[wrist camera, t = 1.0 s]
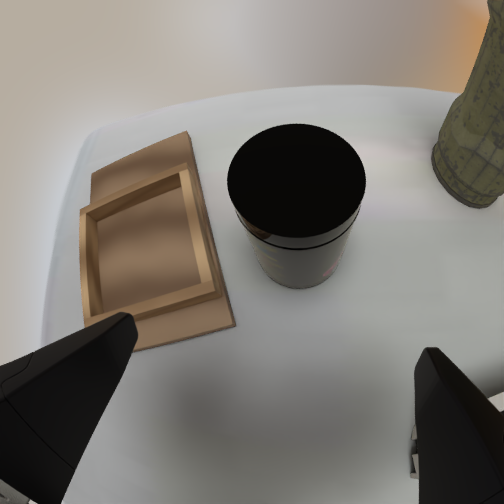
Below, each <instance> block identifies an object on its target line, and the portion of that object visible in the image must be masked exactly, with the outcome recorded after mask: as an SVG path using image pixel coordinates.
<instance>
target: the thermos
mask: <svg viewBox="0 0 504 504" xmlns="http://www.w3.org/2000/svg"><path fill="white" fill-rule="evenodd" d="M487 3H488V8H489V14H490V19H489V23H488V26H487V29H486V33H485V36H484V39H483V42H482V45H481V48H480V51H479V54H478V57H477V59H476V62H475V65H474V67H473V70H472V73H471V75H470V78H469V80H468V83H467V85H466V88H465V90H464V92H463V93H462V94H461V95H460V96H459V97H457V98H456V99H455V101H454V102H453V103H452V105H451V107H450V110H449V112H448V114H447V116H446V119H445V121H444V123H443V125H442V127H441V130H440V132H439V138H438V141H437V143H436V144H435V146H434V148H433V151H432V157H431V160H432V165H433V169H434V171H435V174H436V176H437V178H438V180H439V181H440V183H441V184H442V185H443V186H444V188H445V189H446V190H447V192H448V193H450V194H451V195H452V196H453V197H454V198H455V199H457V200H458V201H460V202H461V203H463V204H465V205H467V206H469V207H474V208H479V209H480V208H485V207H488V206H490V205H491V204H492V203H493V202H494V201H495V200H496V199H497V197H498V196H501V195H502V194H503V193H504V0H488V1H487Z"/></svg>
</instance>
